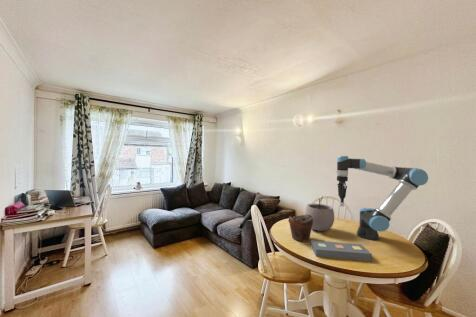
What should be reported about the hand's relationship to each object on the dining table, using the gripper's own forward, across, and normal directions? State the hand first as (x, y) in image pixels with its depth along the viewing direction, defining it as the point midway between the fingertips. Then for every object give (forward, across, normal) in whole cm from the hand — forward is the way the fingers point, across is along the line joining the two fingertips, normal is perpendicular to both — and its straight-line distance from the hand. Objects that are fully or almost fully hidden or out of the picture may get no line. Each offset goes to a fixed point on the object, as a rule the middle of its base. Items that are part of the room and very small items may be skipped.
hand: (341, 206), depth 156 cm
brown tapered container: (+26, +2, -31) cm, 41 cm away
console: (+26, +24, -9) cm, 37 cm away
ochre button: (+25, +24, +2) cm, 35 cm away
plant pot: (+27, -20, -11) cm, 35 cm away
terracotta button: (+25, +24, -9) cm, 36 cm away
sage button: (+25, +24, -20) cm, 40 cm away
